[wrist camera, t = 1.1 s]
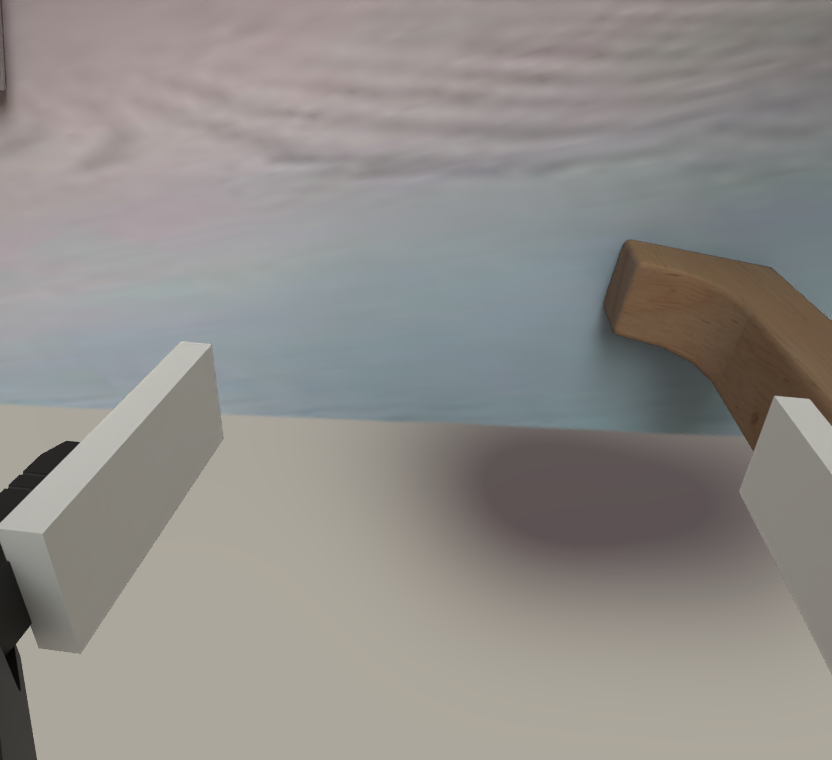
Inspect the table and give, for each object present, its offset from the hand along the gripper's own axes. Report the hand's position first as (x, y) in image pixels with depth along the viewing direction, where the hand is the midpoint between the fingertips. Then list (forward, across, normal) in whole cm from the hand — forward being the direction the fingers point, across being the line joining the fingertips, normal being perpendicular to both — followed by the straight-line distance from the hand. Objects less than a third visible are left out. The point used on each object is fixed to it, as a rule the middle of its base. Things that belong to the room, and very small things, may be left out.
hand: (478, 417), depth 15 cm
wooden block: (+26, +12, -5) cm, 29 cm away
